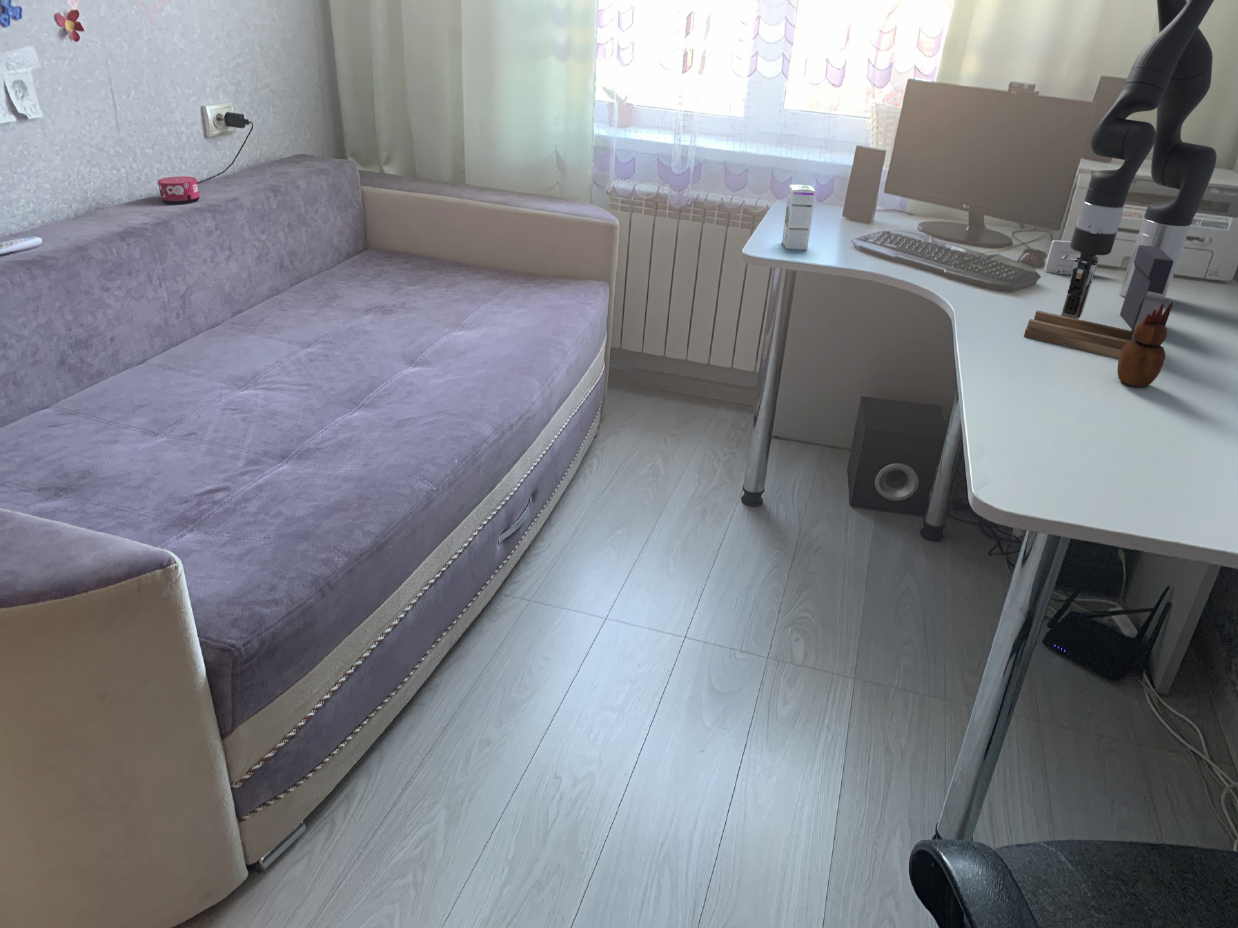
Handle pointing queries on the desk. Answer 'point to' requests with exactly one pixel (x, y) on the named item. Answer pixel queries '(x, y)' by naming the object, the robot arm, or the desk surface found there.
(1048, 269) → the cassette
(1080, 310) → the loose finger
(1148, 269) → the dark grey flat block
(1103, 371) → the desk surface
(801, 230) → the syrup box
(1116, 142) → the robot arm
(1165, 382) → the desk surface
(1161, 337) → the wooden figurine
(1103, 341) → the rail
